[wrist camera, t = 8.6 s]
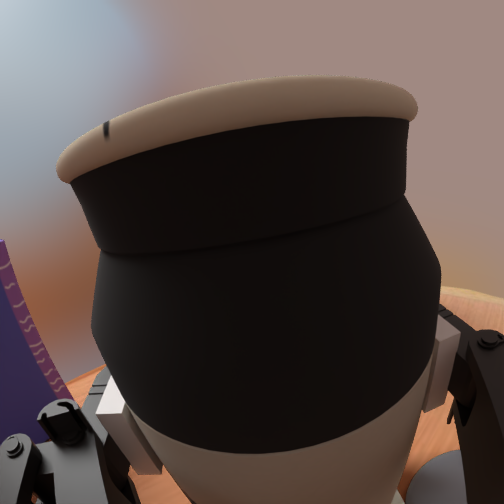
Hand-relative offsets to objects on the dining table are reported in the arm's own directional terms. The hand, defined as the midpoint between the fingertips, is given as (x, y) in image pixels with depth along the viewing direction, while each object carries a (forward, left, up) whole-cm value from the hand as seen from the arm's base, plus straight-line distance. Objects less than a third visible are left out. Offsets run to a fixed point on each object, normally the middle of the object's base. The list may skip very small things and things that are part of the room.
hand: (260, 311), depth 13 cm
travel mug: (+3, -4, -11) cm, 12 cm away
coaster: (+12, +4, -19) cm, 23 cm away
